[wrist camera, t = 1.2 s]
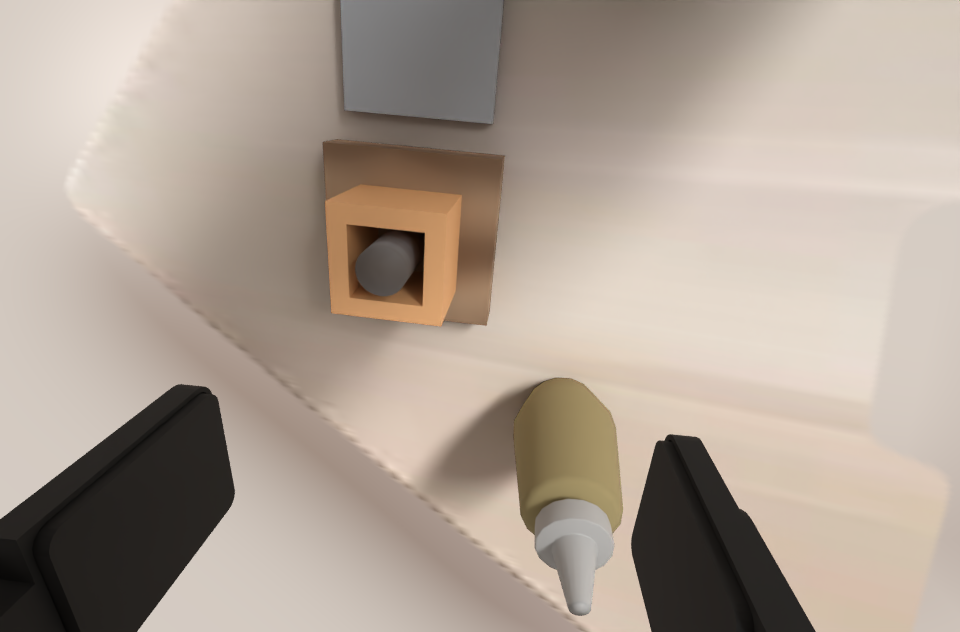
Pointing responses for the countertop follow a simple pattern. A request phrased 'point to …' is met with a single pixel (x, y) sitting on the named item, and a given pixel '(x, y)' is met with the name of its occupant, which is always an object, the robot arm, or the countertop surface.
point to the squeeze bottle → (569, 483)
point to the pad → (422, 57)
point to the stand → (404, 250)
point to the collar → (357, 229)
